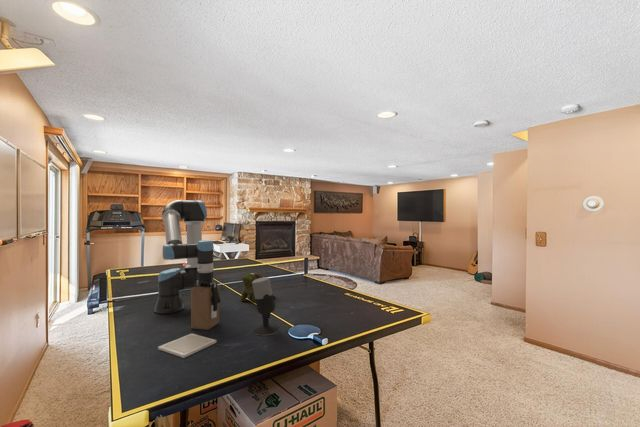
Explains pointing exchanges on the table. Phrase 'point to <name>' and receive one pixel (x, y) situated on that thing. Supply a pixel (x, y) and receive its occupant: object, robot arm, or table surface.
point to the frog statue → (249, 285)
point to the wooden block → (202, 308)
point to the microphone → (264, 306)
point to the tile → (187, 345)
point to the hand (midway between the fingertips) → (205, 315)
